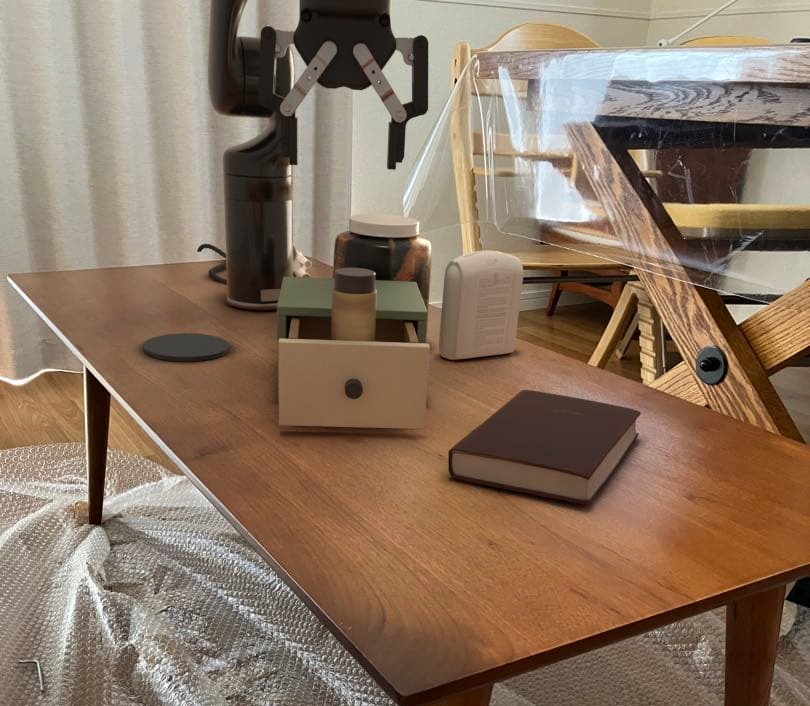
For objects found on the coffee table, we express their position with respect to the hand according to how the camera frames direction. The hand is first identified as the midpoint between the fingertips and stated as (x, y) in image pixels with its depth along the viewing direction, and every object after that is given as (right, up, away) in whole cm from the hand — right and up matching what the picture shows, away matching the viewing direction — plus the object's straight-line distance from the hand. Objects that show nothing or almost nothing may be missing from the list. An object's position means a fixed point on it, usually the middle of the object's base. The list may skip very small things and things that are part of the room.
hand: (342, 166), depth 80 cm
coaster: (-20, -10, +28) cm, 36 cm away
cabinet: (-1, -16, +20) cm, 25 cm away
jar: (+2, -8, +35) cm, 36 cm away
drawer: (0, -20, +10) cm, 22 cm away
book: (+19, -25, +4) cm, 32 cm away
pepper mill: (0, -19, +10) cm, 21 cm away
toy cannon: (-14, +10, +68) cm, 70 cm away
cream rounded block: (+14, -10, +33) cm, 37 cm away
